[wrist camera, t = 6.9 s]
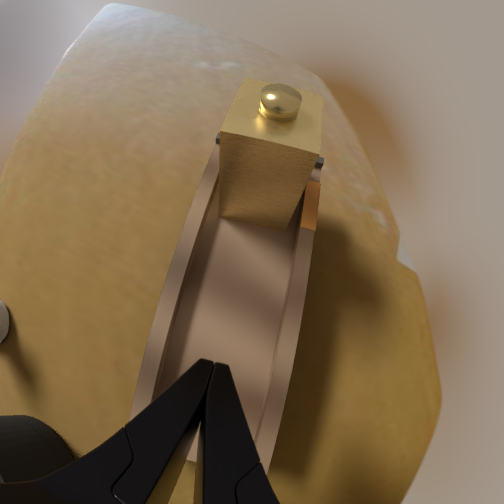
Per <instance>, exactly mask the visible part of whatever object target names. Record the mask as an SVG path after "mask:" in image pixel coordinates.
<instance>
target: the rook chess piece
mask: <svg viewBox="0 0 504 504" xmlns="http://www.w3.org/2000/svg"><path fill="white" fill-rule="evenodd" d="M9 322H10V321H9V314H8V311H7V309H6V306H5V304H4V303H3V302H2V301H1V300H0V343H1V342H2V340H3V339H4V338H5V337H6V335H7V333H8V330H9Z"/></svg>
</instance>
